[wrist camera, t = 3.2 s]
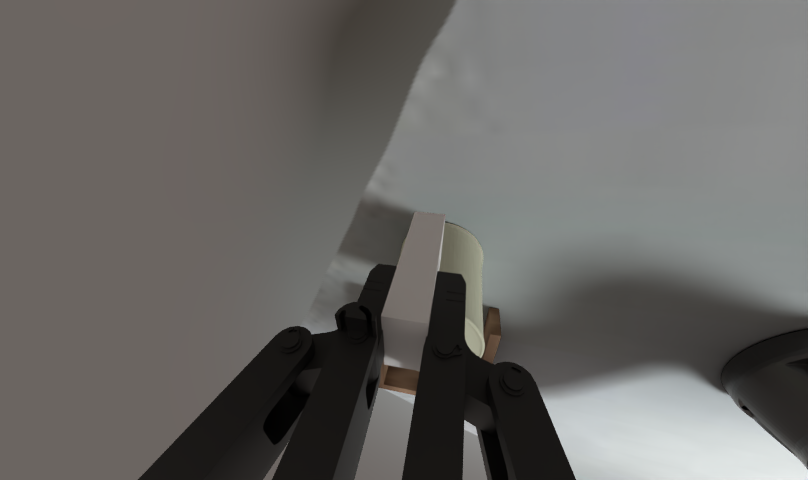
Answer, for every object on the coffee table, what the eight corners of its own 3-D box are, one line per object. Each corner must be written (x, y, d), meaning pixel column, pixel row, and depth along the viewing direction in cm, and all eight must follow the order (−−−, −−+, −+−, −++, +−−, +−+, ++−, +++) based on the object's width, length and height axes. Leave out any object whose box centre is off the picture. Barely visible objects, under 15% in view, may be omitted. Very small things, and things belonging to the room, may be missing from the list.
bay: (499, 309, 36) (501, 336, 33) (477, 382, 46) (477, 408, 43) (378, 290, 38) (369, 313, 35) (383, 363, 48) (376, 387, 45)
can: (451, 206, 29) (438, 291, 20) (499, 267, 32) (508, 366, 23) (385, 245, 34) (349, 329, 24) (432, 295, 37) (417, 388, 27)
